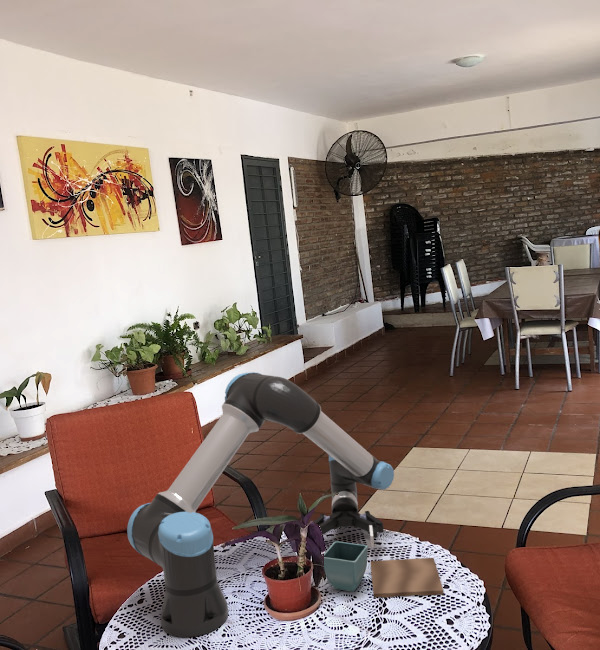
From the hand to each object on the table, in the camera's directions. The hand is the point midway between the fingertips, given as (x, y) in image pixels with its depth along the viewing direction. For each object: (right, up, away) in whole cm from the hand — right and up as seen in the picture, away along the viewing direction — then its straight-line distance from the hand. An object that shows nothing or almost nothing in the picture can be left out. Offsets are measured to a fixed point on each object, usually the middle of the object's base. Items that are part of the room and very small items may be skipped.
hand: (345, 542), depth 171 cm
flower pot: (0, -8, -9) cm, 12 cm away
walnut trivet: (+14, -6, -8) cm, 17 cm away
